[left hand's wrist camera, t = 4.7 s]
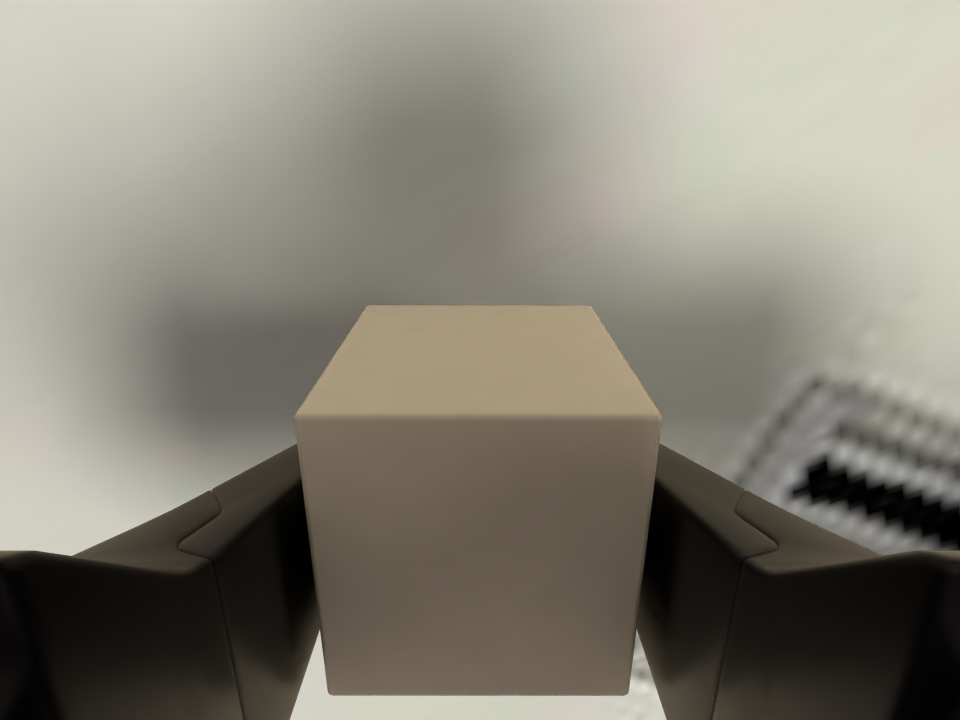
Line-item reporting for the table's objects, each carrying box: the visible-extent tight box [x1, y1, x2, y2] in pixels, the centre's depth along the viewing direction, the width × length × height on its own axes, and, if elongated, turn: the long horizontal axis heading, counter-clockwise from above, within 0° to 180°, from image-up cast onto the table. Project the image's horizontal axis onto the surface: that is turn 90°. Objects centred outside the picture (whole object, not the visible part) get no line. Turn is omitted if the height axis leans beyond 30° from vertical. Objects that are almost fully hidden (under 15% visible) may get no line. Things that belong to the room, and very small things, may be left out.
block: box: [294, 305, 662, 696], centre depth 10 cm, size 4×5×5 cm
